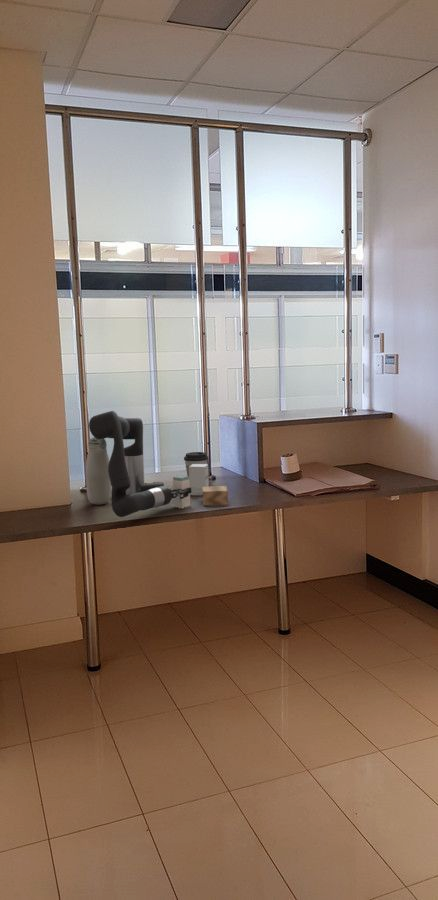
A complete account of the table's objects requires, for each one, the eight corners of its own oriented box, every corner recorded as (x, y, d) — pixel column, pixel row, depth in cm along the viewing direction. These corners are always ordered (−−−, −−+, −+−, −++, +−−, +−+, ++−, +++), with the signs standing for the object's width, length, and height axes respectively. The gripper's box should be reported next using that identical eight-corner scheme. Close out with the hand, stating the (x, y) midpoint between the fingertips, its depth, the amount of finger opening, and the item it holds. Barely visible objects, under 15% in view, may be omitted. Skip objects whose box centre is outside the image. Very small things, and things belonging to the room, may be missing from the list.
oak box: (203, 506, 285) (202, 491, 284) (202, 500, 295) (202, 486, 294) (227, 505, 286) (227, 490, 285) (226, 499, 296) (226, 485, 295)
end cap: (141, 501, 297) (140, 485, 296) (138, 497, 304) (138, 482, 303) (165, 499, 300) (164, 483, 299) (161, 495, 307) (161, 480, 306)
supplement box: (205, 495, 304) (204, 466, 302) (189, 495, 305) (188, 466, 303) (209, 492, 311) (208, 463, 309) (193, 491, 312) (192, 463, 310)
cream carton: (182, 508, 282) (181, 478, 280) (173, 506, 284) (172, 477, 283) (190, 506, 285) (189, 476, 283) (181, 504, 288) (180, 475, 286)
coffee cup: (213, 486, 322) (212, 454, 320) (189, 489, 318) (188, 456, 316) (204, 482, 332) (203, 450, 330) (181, 484, 328) (180, 452, 326)
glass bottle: (84, 507, 289) (80, 438, 284) (92, 501, 299) (88, 435, 294) (108, 507, 287) (104, 438, 283) (115, 501, 297) (111, 435, 293)
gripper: (170, 489, 268) (199, 482, 281) (142, 485, 277) (172, 478, 290) (170, 509, 269) (199, 500, 282) (143, 504, 278) (172, 496, 291)
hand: (185, 489), depth 286 cm, fingers closed on cream carton, 4 cm apart
